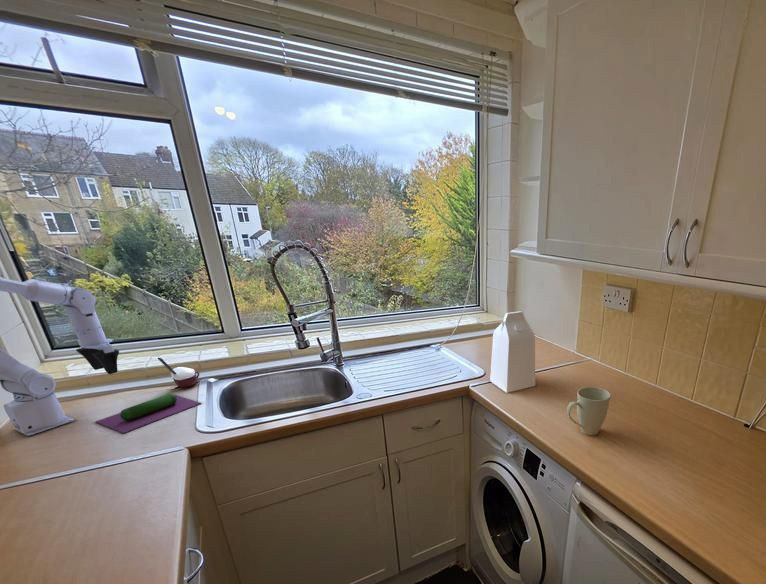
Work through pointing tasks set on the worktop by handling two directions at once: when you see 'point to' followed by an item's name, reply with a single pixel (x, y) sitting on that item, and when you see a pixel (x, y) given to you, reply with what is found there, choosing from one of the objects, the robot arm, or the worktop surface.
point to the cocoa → (182, 375)
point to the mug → (590, 409)
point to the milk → (513, 354)
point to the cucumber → (148, 407)
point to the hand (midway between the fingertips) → (106, 370)
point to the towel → (147, 416)
